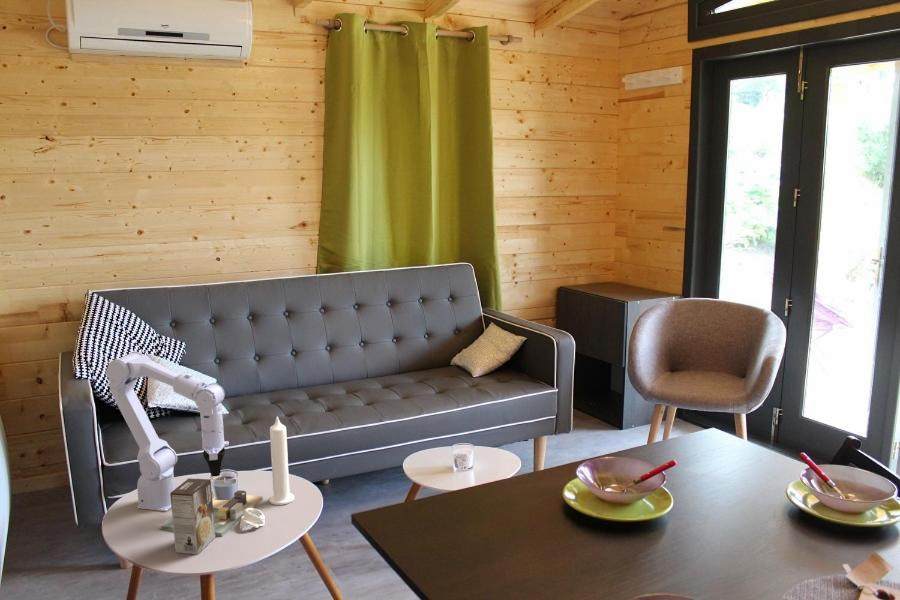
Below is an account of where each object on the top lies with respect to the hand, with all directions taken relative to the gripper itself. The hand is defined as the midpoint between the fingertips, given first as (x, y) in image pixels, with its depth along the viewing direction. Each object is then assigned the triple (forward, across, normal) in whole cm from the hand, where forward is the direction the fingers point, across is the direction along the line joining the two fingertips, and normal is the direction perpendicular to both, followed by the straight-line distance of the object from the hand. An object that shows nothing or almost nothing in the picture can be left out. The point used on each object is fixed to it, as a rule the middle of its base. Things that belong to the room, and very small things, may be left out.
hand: (215, 475), depth 211 cm
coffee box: (+10, -20, +5) cm, 23 cm away
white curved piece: (+10, -12, -9) cm, 18 cm away
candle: (+10, 0, -18) cm, 20 cm away
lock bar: (+9, -5, -4) cm, 11 cm away
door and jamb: (+10, -3, +1) cm, 10 cm away
